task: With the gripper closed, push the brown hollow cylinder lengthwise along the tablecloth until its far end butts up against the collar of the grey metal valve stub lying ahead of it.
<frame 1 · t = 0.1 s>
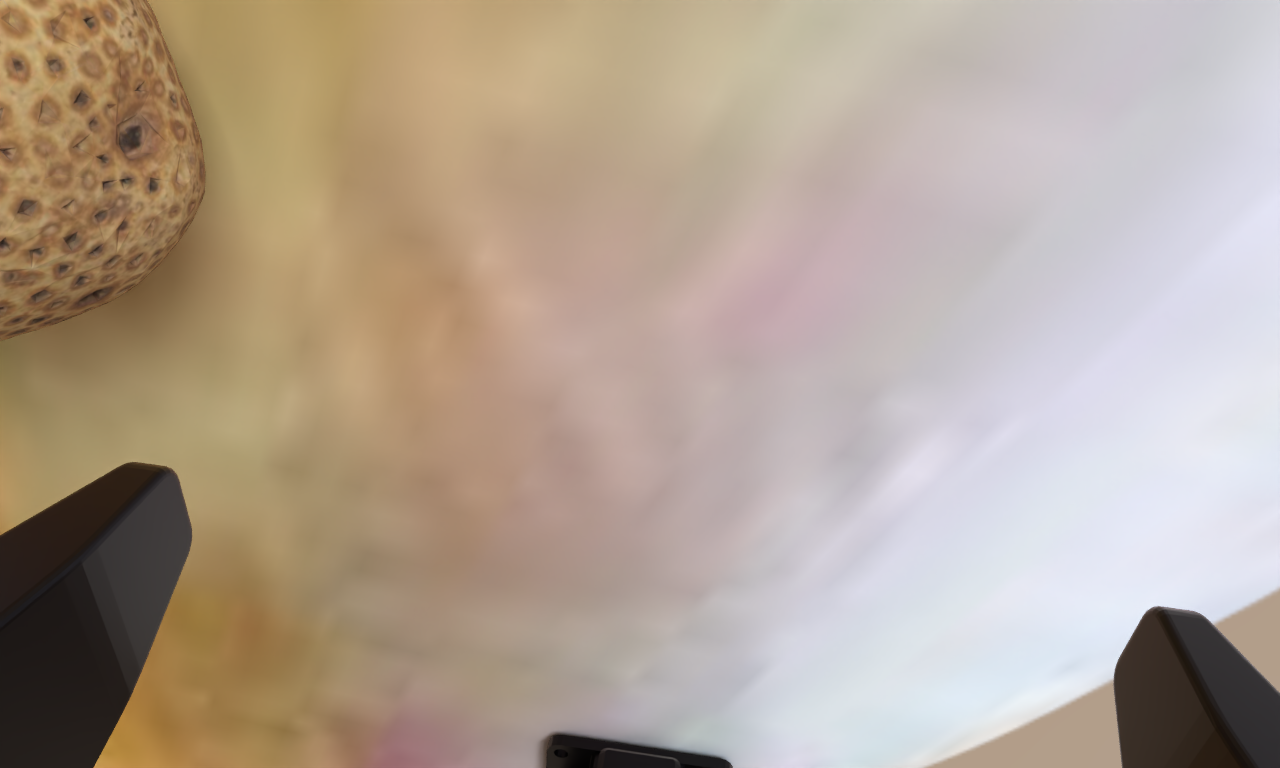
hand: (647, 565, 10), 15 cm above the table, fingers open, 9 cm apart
natural sponge: (89, 9, 23), on the table
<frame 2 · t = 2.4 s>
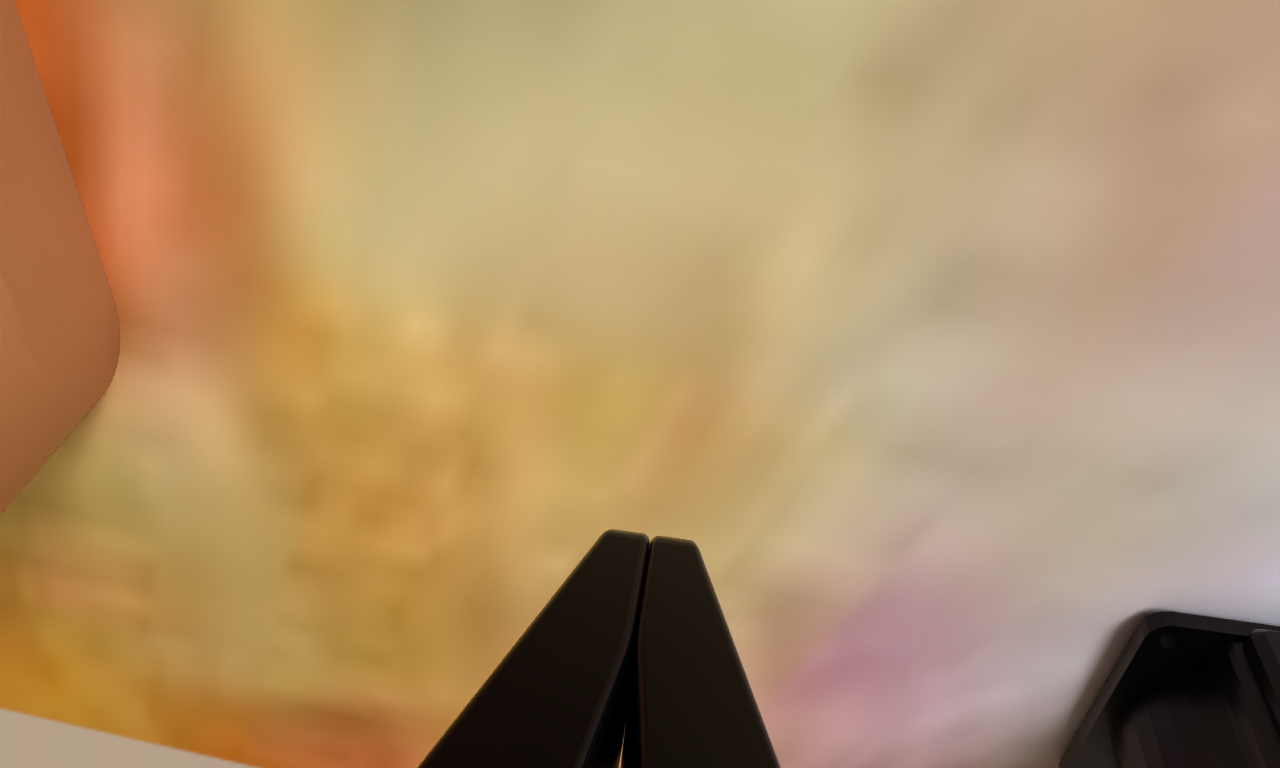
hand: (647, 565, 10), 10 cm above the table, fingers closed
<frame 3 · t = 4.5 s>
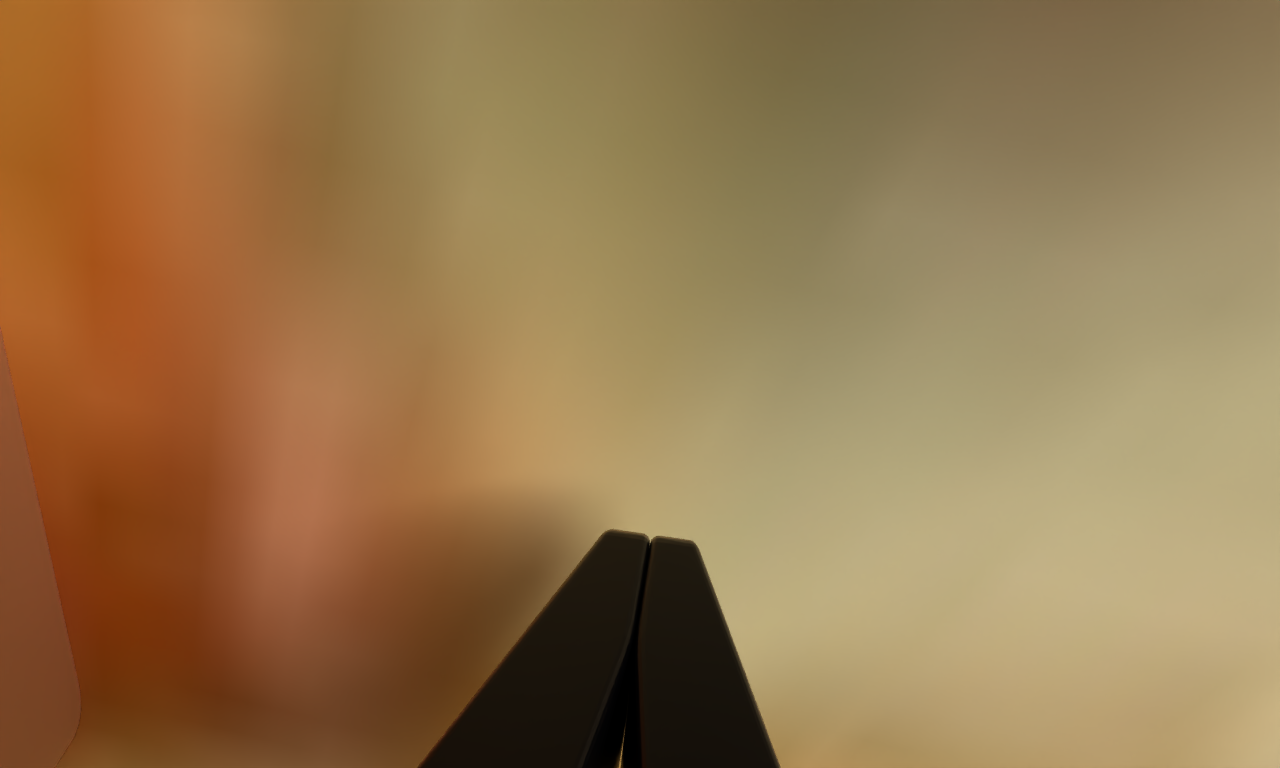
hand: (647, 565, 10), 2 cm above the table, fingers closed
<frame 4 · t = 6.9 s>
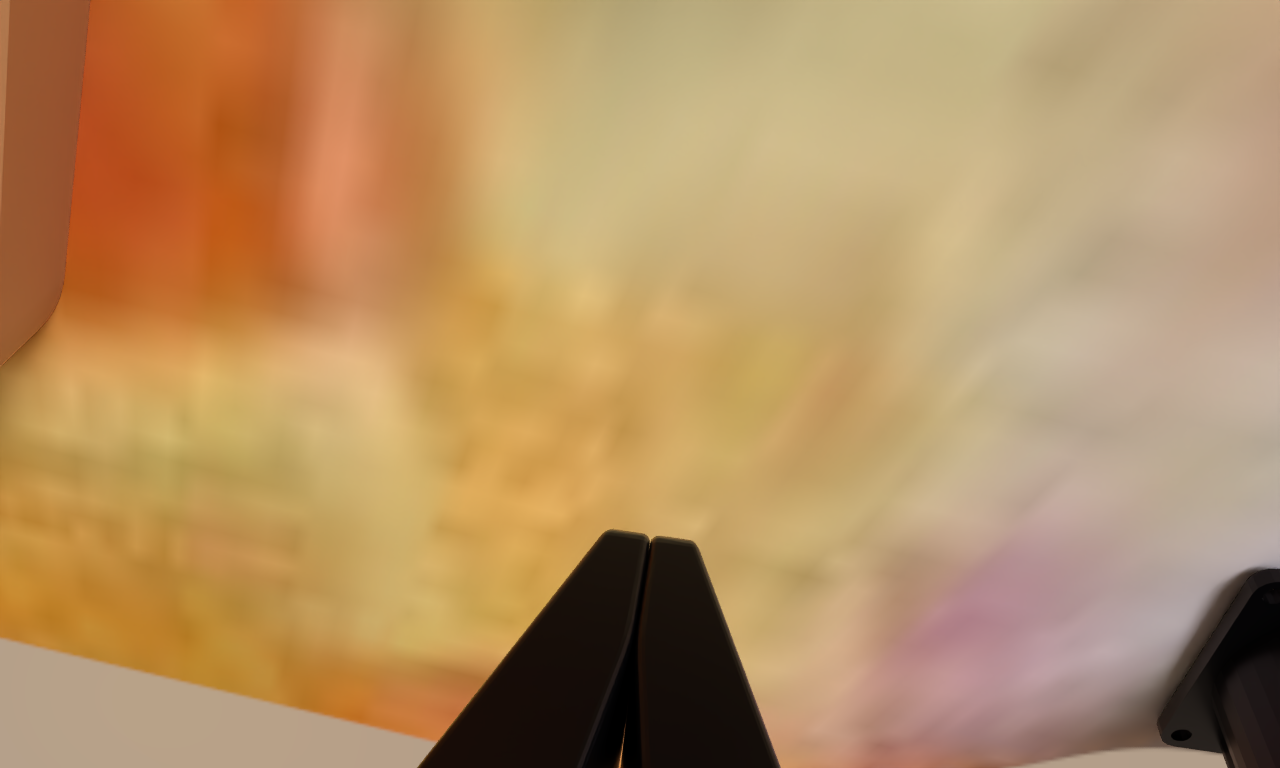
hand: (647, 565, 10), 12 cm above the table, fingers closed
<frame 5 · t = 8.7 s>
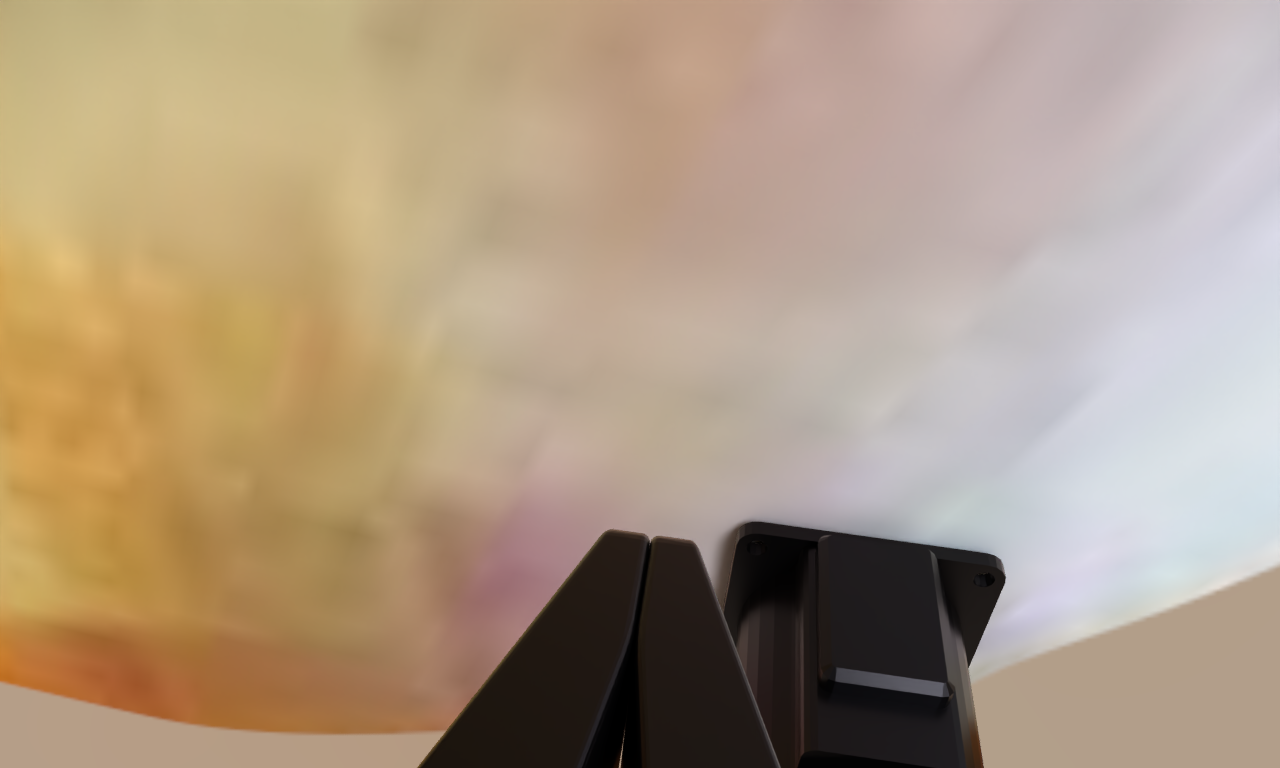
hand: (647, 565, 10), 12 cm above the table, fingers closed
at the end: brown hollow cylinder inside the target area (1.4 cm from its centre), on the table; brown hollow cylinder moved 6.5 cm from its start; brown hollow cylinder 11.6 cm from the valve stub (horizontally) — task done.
